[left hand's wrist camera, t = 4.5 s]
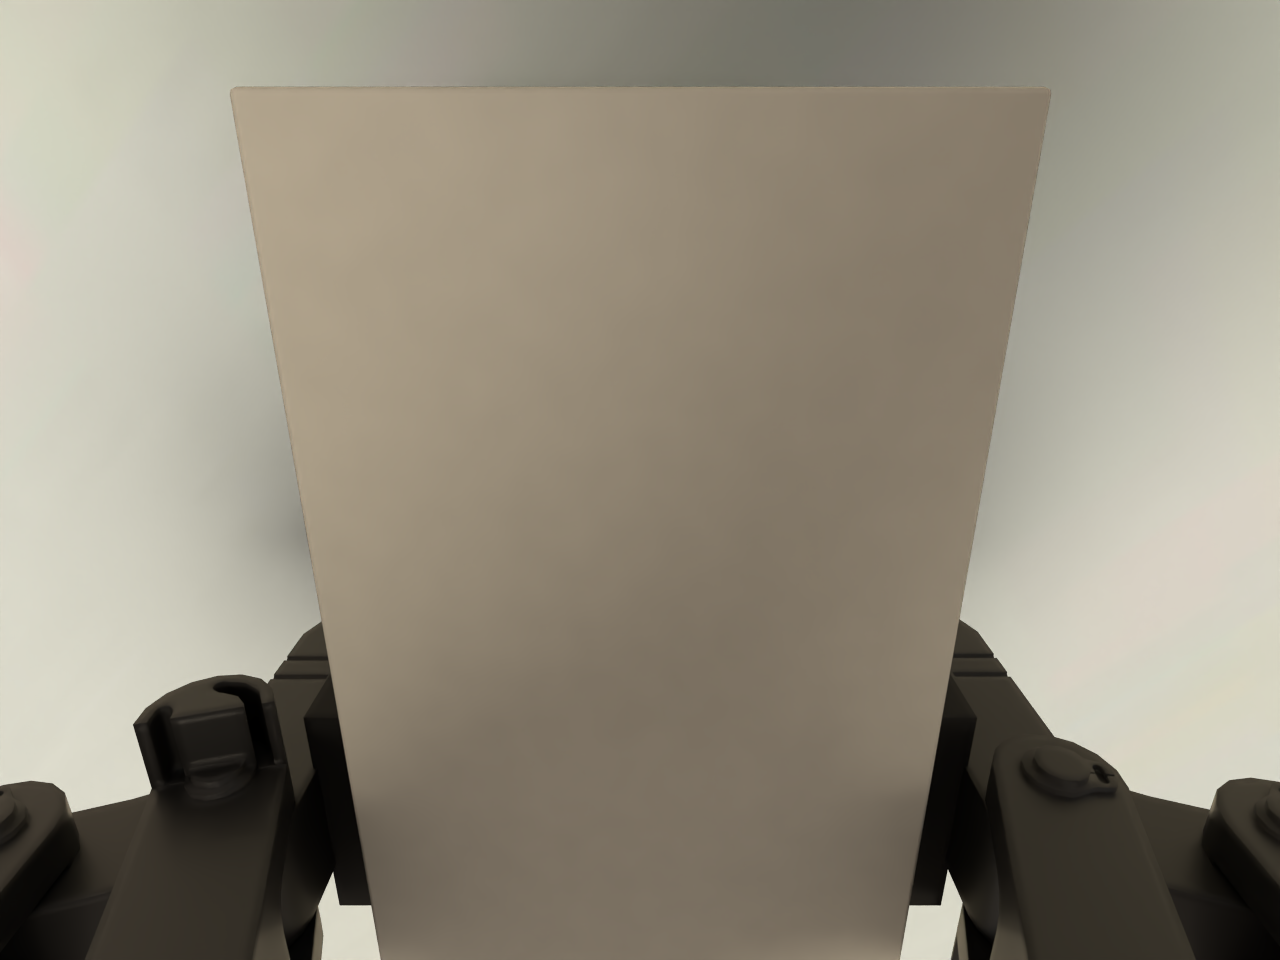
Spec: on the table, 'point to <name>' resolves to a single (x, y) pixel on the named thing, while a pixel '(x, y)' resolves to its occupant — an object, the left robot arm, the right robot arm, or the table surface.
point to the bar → (640, 490)
